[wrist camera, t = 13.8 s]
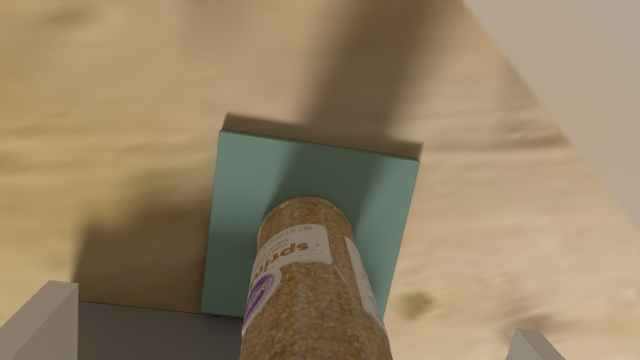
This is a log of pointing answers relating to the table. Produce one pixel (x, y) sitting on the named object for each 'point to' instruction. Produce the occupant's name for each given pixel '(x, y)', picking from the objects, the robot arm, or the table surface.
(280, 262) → the sprinkles bottle
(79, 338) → the grey square holder
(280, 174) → the mat
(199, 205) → the table surface
